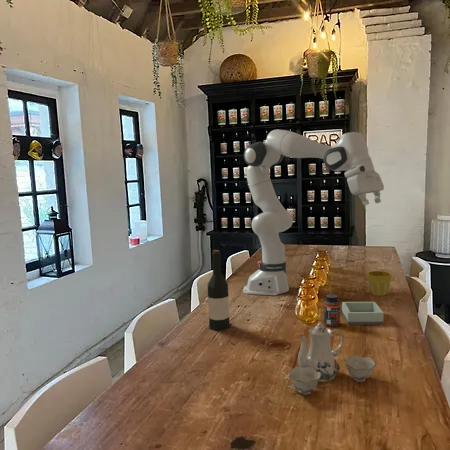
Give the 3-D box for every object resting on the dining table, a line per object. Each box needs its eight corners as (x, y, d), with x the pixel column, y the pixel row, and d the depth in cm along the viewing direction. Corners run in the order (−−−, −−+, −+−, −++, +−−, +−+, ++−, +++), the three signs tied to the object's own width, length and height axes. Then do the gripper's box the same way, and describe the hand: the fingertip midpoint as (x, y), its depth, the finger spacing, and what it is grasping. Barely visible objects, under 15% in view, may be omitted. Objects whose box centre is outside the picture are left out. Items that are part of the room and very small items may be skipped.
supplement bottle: (331, 328, 158) (331, 299, 157) (320, 323, 164) (320, 295, 162) (343, 325, 161) (343, 296, 160) (332, 320, 166) (332, 292, 165)
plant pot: (366, 296, 194) (367, 275, 193) (367, 289, 204) (367, 270, 202) (391, 298, 191) (391, 276, 189) (390, 291, 200) (391, 271, 199)
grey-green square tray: (348, 324, 162) (348, 312, 161) (342, 312, 175) (342, 302, 174) (383, 324, 161) (383, 312, 160) (374, 312, 173) (374, 301, 173)
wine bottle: (233, 323, 167) (230, 248, 163) (226, 331, 160) (222, 253, 155) (213, 321, 170) (209, 248, 166) (205, 329, 162) (201, 252, 158)
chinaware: (300, 411, 109) (303, 353, 105) (268, 377, 124) (269, 324, 120) (383, 385, 120) (389, 331, 116) (345, 356, 135) (348, 308, 131)
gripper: (368, 172, 178) (378, 203, 176) (341, 173, 164) (352, 208, 162) (382, 166, 173) (392, 199, 172) (355, 168, 159) (366, 203, 158)
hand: (372, 203), depth 167 cm, fingers open, 8 cm apart
